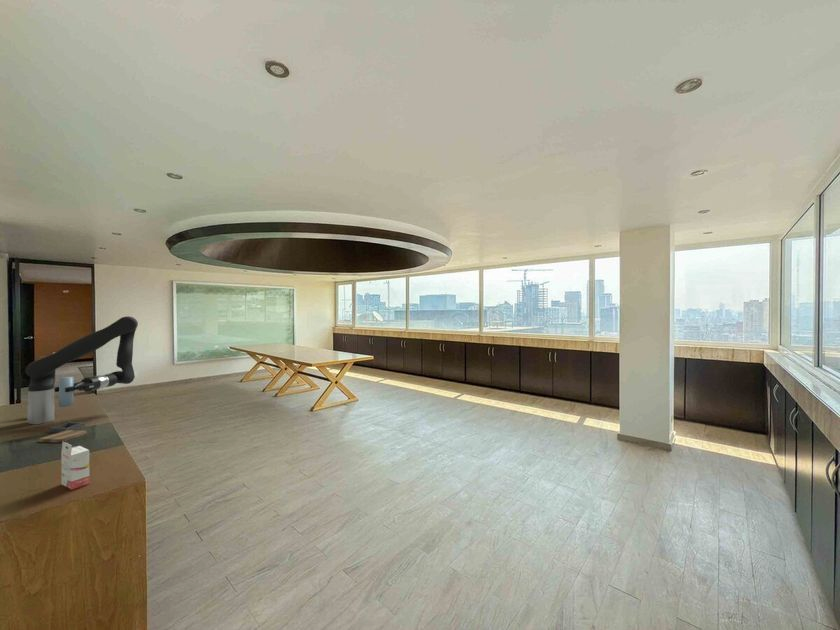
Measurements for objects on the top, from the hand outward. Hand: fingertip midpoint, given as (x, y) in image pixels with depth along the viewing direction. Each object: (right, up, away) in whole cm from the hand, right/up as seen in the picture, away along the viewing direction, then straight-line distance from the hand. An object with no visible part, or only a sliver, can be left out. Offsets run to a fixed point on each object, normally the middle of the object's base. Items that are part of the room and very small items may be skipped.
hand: (60, 389), depth 169 cm
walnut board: (+11, -20, -9) cm, 25 cm away
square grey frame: (0, -20, +3) cm, 20 cm away
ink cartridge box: (+59, -21, -51) cm, 81 cm away
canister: (0, -8, +3) cm, 9 cm away
